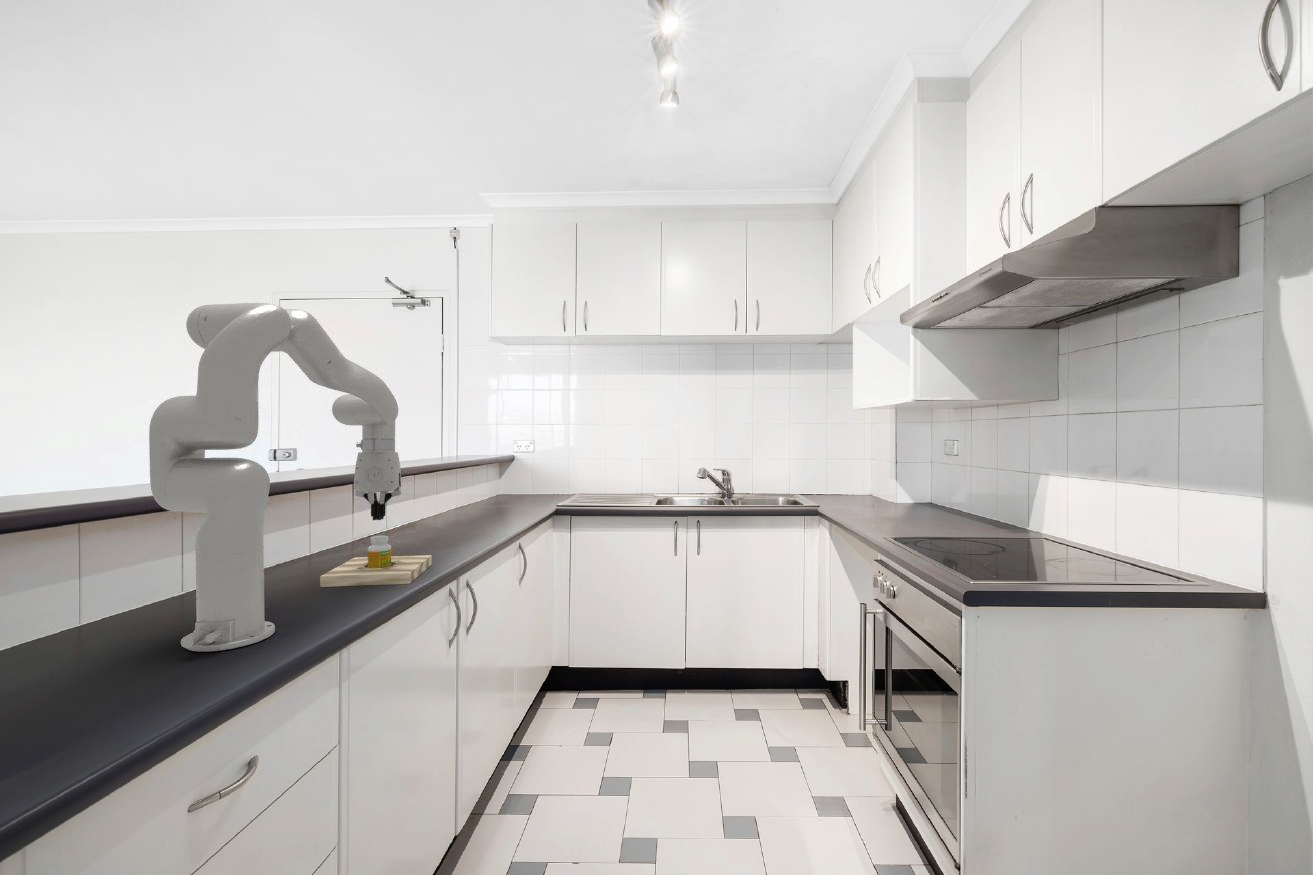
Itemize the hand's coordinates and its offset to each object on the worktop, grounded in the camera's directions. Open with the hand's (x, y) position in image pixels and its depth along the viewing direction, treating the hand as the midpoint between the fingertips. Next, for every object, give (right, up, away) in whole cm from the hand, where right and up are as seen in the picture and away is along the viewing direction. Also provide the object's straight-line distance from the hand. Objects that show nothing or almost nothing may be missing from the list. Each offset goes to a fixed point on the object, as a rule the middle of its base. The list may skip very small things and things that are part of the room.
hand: (378, 519), depth 144 cm
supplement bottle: (0, -14, +1) cm, 14 cm away
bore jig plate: (0, -14, +1) cm, 14 cm away
